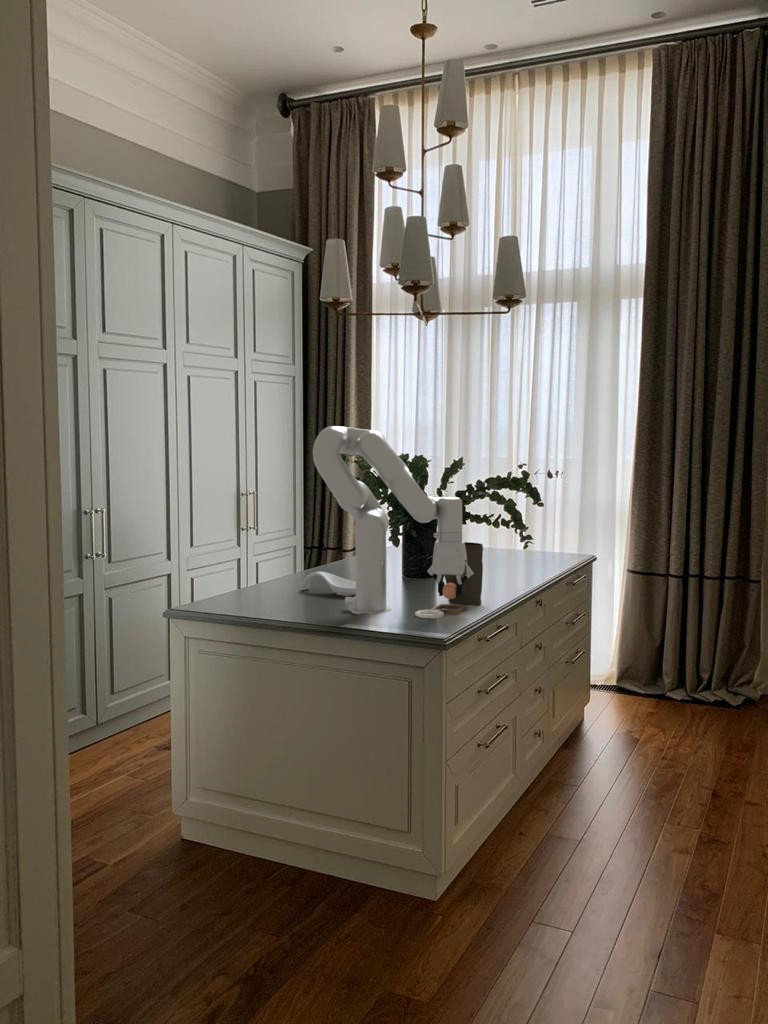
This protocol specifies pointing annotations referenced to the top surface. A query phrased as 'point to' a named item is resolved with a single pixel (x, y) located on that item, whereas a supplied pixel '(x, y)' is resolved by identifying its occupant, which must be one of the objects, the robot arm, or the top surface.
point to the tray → (457, 612)
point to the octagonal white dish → (429, 613)
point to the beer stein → (474, 582)
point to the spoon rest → (332, 583)
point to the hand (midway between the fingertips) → (450, 595)
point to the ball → (449, 591)
